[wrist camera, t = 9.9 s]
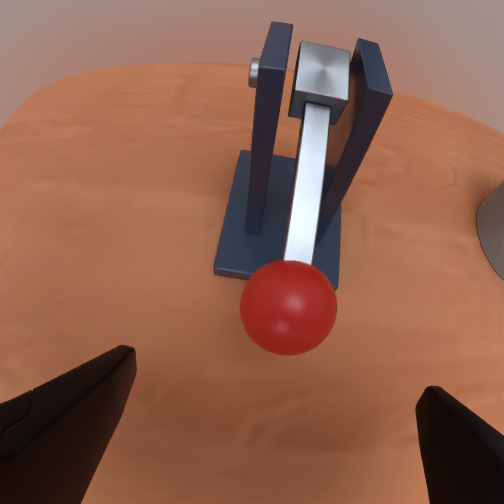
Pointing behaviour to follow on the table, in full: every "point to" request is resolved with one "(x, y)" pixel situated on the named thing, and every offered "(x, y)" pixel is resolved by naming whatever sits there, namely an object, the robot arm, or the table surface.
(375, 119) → the lever stand
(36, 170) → the table surface
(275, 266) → the lever
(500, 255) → the coffee mug
